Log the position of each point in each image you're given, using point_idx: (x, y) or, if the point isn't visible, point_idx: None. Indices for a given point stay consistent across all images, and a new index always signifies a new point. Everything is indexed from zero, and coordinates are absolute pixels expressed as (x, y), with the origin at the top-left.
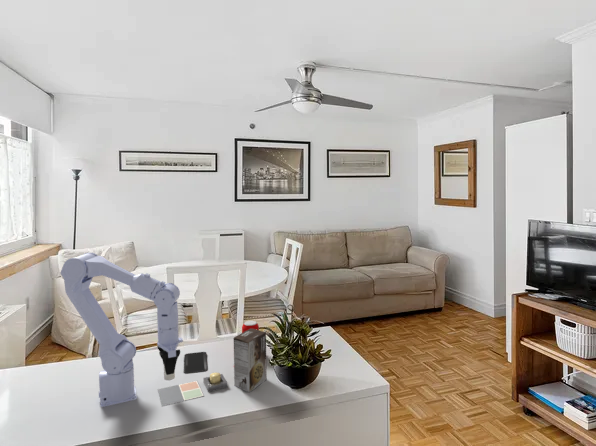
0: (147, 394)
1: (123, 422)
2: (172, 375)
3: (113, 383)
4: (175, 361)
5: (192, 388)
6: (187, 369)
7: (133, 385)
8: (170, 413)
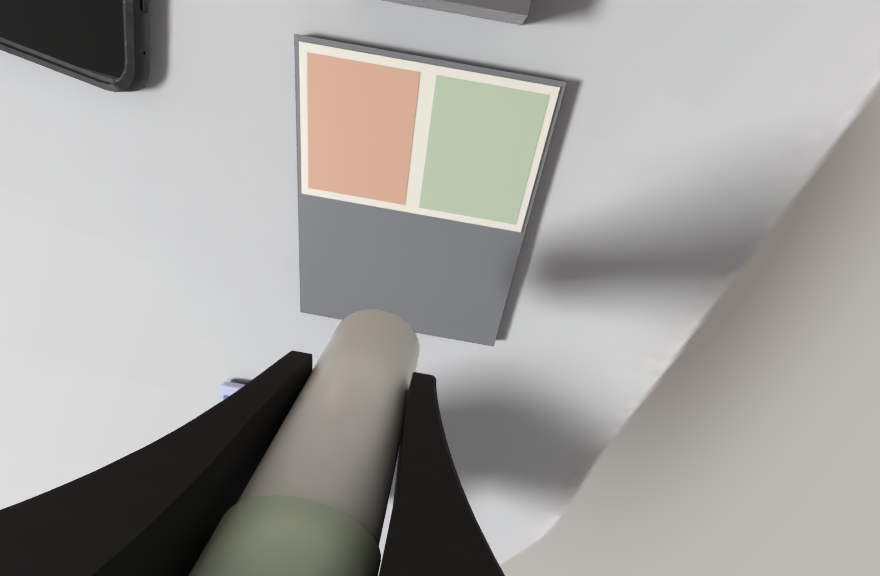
0: (318, 353)
1: (496, 470)
2: (411, 358)
3: None
4: (464, 503)
5: (403, 124)
6: (67, 40)
7: None
8: (573, 323)
